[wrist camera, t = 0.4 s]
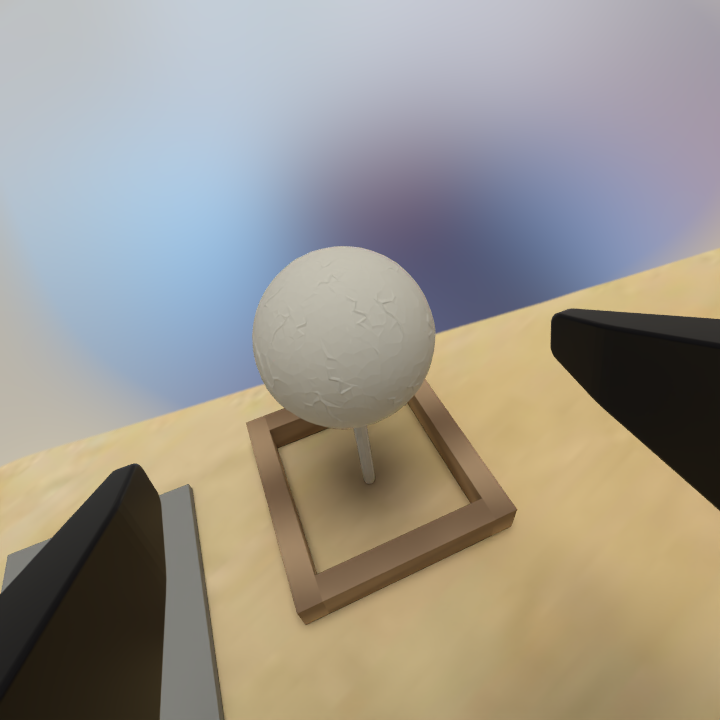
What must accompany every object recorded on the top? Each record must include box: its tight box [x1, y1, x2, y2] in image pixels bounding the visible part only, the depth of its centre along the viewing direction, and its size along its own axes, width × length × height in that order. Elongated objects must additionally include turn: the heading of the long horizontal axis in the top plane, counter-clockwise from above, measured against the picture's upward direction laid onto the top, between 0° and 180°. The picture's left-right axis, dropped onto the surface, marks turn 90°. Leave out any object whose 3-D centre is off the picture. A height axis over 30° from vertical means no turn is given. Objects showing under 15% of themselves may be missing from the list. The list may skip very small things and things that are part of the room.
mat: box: [1, 484, 224, 720], centre depth 21 cm, size 12×10×1 cm
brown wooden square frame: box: [246, 379, 517, 625], centre depth 25 cm, size 11×11×2 cm
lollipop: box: [252, 246, 435, 484], centre depth 20 cm, size 7×7×15 cm
